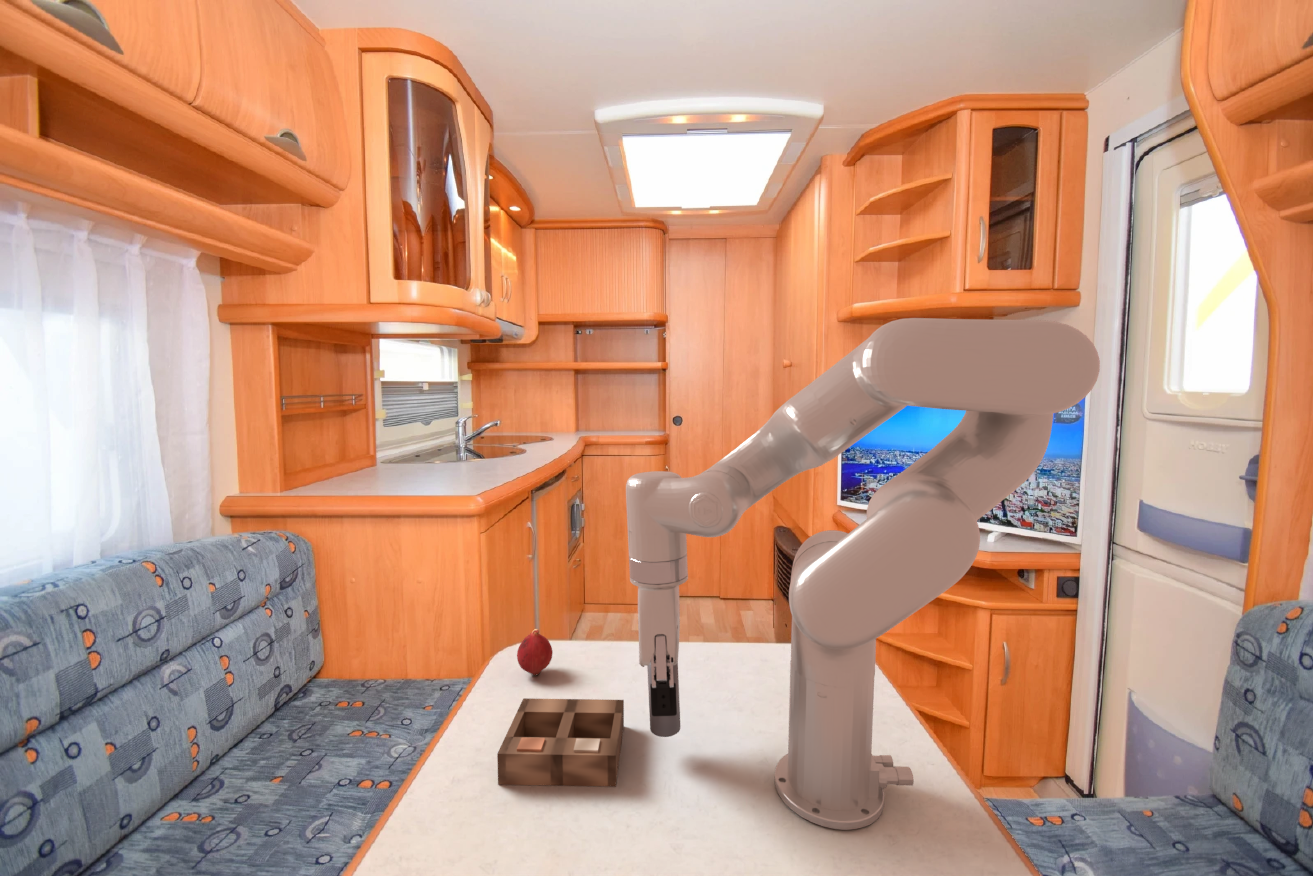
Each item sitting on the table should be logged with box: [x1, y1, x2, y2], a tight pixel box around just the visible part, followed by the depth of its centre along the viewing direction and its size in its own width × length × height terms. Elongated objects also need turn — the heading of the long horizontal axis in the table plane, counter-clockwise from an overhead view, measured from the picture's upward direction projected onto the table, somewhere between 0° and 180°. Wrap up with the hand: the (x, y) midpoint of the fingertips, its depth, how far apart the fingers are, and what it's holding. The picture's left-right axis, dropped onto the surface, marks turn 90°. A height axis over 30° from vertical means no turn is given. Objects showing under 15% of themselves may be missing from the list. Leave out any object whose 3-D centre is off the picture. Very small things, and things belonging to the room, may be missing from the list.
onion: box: [516, 628, 554, 676], centre depth 92 cm, size 6×6×8 cm
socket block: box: [496, 698, 625, 788], centre depth 72 cm, size 14×12×4 cm
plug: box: [646, 655, 681, 738], centre depth 71 cm, size 4×4×10 cm
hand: (664, 703), depth 71 cm, fingers closed on plug, 4 cm apart
